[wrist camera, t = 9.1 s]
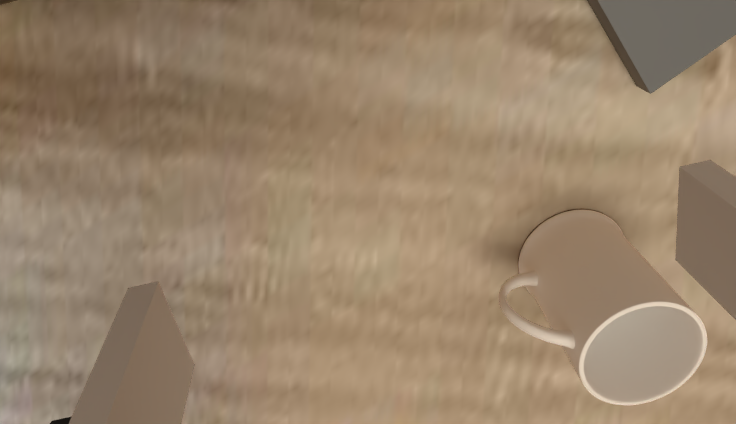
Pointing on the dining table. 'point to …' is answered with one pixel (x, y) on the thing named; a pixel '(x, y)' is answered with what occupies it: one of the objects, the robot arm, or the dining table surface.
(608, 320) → the mug
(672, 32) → the tuner board
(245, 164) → the dining table surface
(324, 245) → the dining table surface
